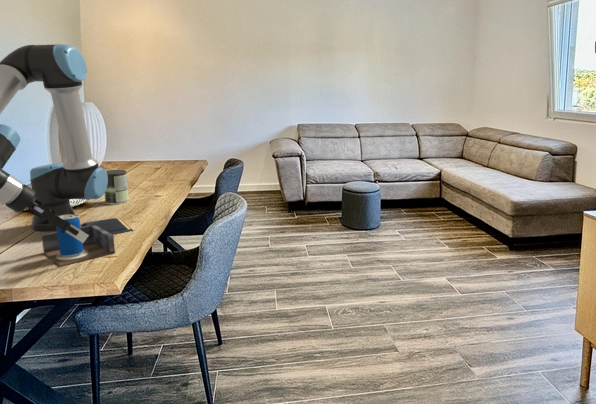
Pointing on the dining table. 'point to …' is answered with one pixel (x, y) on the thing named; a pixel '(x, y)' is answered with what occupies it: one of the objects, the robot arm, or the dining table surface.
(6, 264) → the dining table surface
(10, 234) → the dining table surface
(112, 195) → the coffee can
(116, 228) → the dark grey flat rectangle
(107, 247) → the corner tray
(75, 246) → the beverage can
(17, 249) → the dining table surface
